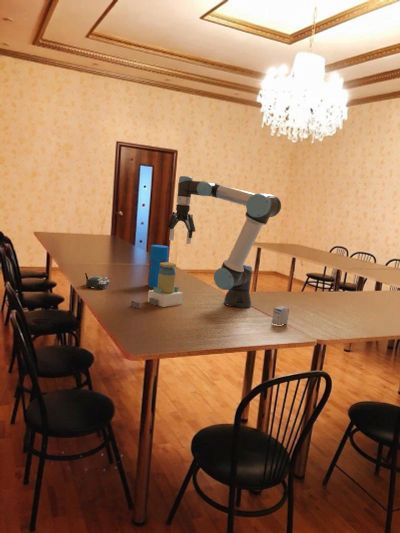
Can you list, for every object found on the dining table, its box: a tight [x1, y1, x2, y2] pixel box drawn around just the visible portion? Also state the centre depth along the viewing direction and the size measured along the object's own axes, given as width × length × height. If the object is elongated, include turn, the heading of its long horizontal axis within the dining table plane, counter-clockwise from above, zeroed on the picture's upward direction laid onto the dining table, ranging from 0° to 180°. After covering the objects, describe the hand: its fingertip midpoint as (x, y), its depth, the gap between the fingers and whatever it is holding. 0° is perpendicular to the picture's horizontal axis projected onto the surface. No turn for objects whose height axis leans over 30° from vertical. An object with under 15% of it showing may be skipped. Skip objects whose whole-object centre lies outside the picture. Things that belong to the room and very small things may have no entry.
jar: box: [157, 262, 177, 293], centre depth 242 cm, size 9×9×15 cm
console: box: [130, 285, 184, 309], centre depth 238 cm, size 12×28×8 cm, turn 138°
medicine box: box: [271, 305, 290, 325], centre depth 223 cm, size 8×4×9 cm, turn 141°
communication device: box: [84, 272, 110, 290], centre depth 270 cm, size 12×24×9 cm, turn 178°
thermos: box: [147, 244, 169, 289], centre depth 280 cm, size 11×11×25 cm
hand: (179, 242), depth 260 cm, fingers open, 13 cm apart
